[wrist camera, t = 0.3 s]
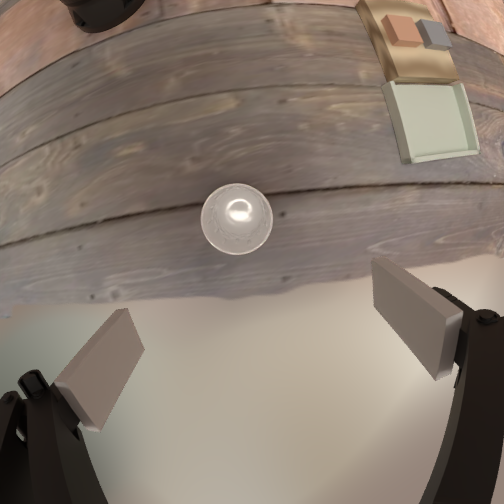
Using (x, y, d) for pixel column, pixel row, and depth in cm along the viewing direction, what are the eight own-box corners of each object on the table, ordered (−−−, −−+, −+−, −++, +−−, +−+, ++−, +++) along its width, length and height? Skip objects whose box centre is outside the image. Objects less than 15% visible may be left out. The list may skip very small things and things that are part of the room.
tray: (381, 86, 35) (389, 81, 32) (452, 87, 34) (462, 83, 31) (401, 163, 38) (411, 163, 35) (469, 153, 37) (480, 153, 34)
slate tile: (413, 24, 28) (420, 18, 25) (434, 27, 27) (441, 22, 25) (424, 48, 29) (432, 43, 26) (445, 51, 29) (452, 47, 26)
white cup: (269, 183, 39) (275, 185, 29) (266, 238, 41) (270, 256, 31) (213, 181, 39) (201, 182, 29) (212, 235, 41) (200, 253, 31)
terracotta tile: (380, 20, 28) (386, 14, 26) (404, 23, 28) (411, 17, 25) (392, 45, 29) (399, 40, 27) (416, 47, 29) (423, 42, 27)
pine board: (355, 6, 31) (362, -4, 27) (416, 13, 30) (425, 5, 26) (387, 83, 35) (398, 76, 31) (446, 84, 34) (459, 79, 30)
